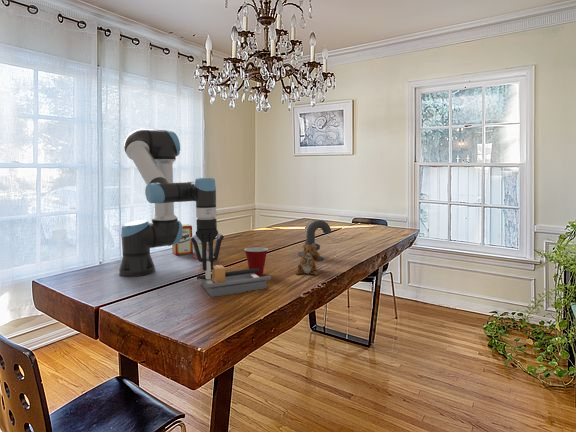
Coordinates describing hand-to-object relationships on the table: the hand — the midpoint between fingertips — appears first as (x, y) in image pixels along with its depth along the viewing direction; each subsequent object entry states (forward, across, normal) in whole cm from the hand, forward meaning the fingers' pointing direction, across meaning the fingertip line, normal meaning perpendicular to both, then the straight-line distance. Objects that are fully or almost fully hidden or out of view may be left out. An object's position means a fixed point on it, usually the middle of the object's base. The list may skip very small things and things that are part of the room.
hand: (208, 278), depth 148 cm
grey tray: (+2, +11, 0) cm, 11 cm away
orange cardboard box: (+5, +3, +70) cm, 70 cm away
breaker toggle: (+2, +4, 0) cm, 4 cm away
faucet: (+5, +66, +30) cm, 72 cm away
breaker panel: (+5, +10, 0) cm, 11 cm away
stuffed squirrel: (+5, +48, +7) cm, 49 cm away
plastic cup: (+5, +25, +13) cm, 29 cm away
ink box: (+5, +10, +54) cm, 55 cm away
